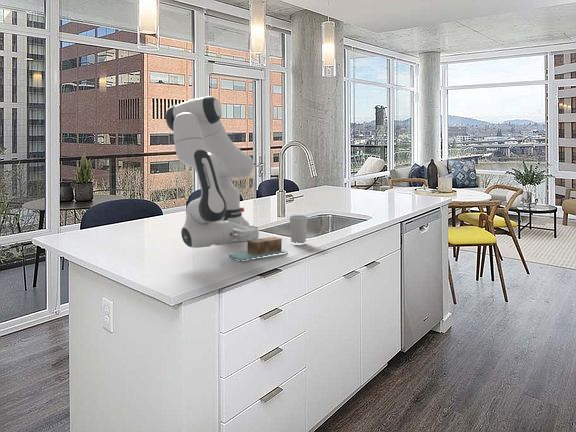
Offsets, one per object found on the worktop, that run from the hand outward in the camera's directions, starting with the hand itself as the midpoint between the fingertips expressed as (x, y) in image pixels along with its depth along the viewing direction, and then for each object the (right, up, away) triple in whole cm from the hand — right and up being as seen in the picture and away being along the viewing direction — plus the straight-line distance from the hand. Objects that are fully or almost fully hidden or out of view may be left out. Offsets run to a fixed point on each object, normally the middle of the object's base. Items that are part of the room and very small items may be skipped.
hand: (255, 228), depth 199 cm
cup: (+17, -7, +24) cm, 30 cm away
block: (-2, -8, 0) cm, 8 cm away
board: (+1, -11, +3) cm, 11 cm away
